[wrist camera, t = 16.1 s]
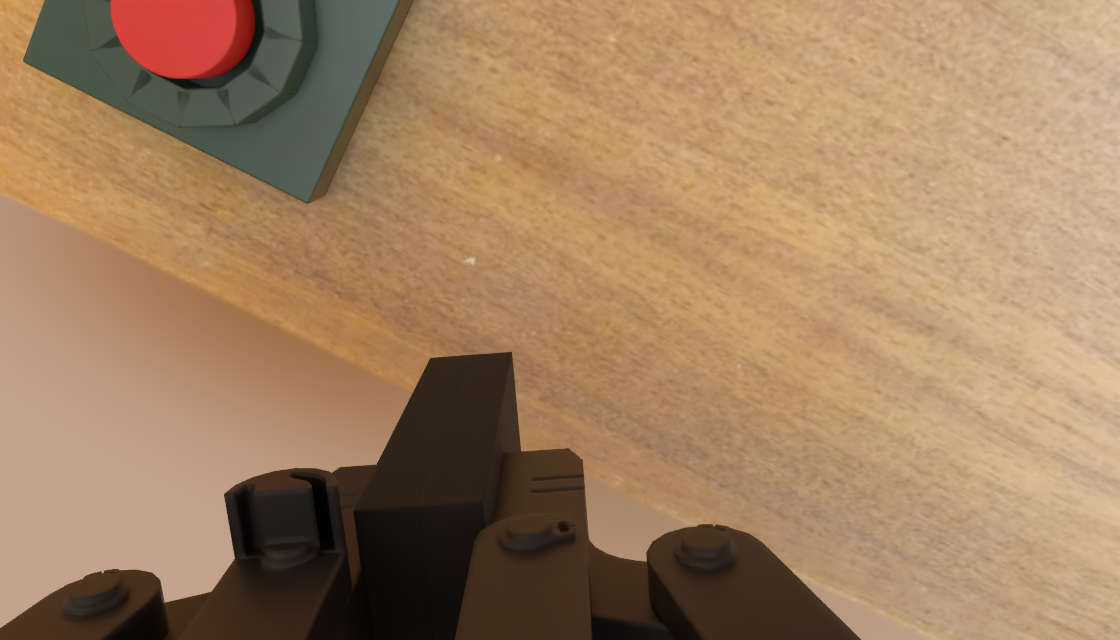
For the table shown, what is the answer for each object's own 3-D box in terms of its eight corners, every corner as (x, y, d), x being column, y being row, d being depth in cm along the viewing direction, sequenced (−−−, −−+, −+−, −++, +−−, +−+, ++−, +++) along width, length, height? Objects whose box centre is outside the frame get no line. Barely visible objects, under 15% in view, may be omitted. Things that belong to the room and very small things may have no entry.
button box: (420, -15, 32) (400, -29, 28) (324, 196, 33) (293, 212, 29) (141, -165, 30) (79, -201, 27) (56, 63, 32) (-13, 60, 28)
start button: (274, -10, 28) (256, -16, 26) (228, 99, 29) (208, 101, 27) (162, -69, 28) (136, -79, 26) (119, 44, 29) (90, 41, 27)
